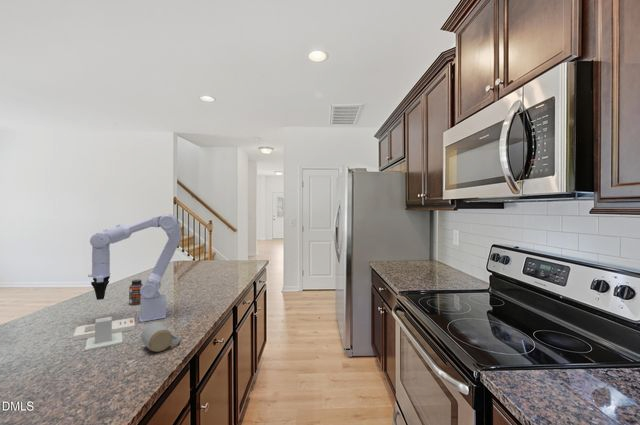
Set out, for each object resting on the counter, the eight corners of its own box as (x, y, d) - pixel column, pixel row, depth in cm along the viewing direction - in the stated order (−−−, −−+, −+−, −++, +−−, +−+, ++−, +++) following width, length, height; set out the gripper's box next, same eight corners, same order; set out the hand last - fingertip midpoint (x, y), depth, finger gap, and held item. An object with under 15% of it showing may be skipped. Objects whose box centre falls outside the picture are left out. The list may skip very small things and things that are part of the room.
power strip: (133, 321, 121) (133, 316, 121) (134, 329, 113) (134, 323, 113) (76, 331, 111) (76, 325, 111) (73, 340, 103) (73, 334, 103)
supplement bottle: (130, 306, 141) (130, 282, 141) (127, 303, 145) (128, 280, 145) (144, 303, 145) (144, 280, 145) (142, 301, 149) (142, 278, 149)
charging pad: (122, 333, 109) (122, 331, 109) (122, 343, 101) (122, 341, 101) (87, 340, 104) (87, 338, 104) (84, 351, 95) (84, 349, 95)
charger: (111, 336, 105) (111, 316, 105) (111, 340, 102) (111, 319, 102) (95, 339, 102) (95, 319, 102) (95, 343, 99) (95, 322, 99)
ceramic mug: (148, 356, 92) (149, 331, 92) (140, 348, 98) (141, 324, 98) (183, 346, 100) (184, 323, 100) (174, 338, 105) (175, 317, 106)
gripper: (89, 261, 123) (89, 294, 123) (86, 266, 111) (86, 303, 111) (110, 259, 127) (110, 291, 127) (109, 264, 115) (109, 300, 115)
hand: (100, 297), depth 119 cm, fingers open, 7 cm apart
